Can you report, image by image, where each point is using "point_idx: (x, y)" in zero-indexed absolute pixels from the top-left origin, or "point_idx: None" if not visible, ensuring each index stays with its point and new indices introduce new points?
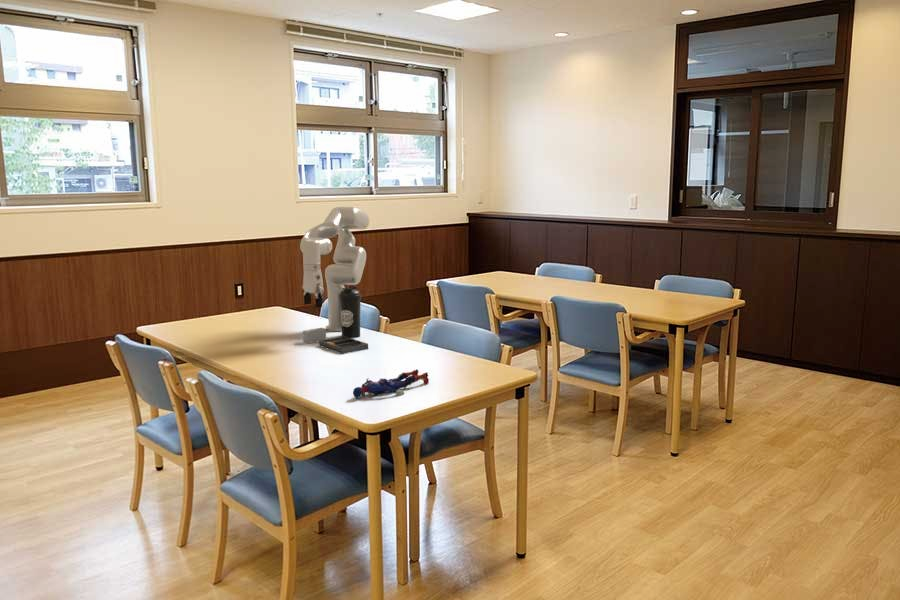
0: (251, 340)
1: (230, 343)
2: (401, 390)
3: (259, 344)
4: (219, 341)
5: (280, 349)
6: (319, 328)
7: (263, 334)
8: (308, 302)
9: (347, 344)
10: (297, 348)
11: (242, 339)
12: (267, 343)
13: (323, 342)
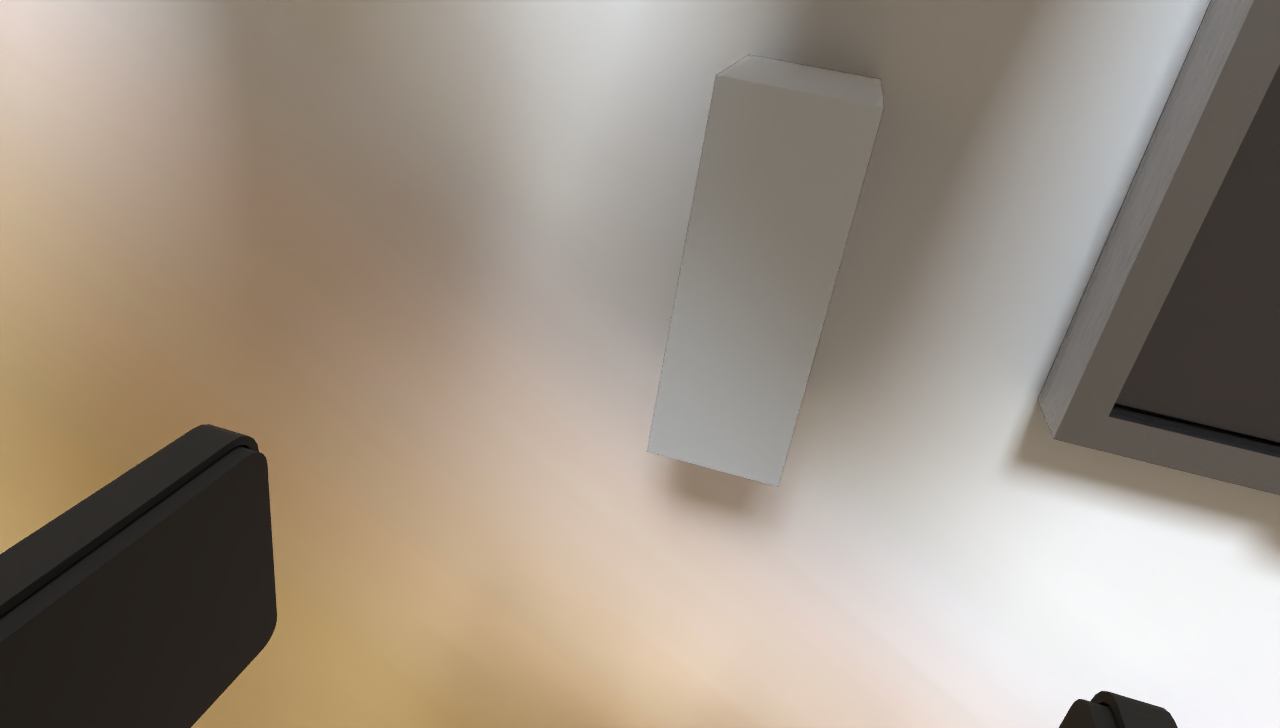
0: None
1: (219, 717)
2: None
3: (410, 652)
4: None
5: (749, 713)
6: (746, 167)
7: (29, 342)
8: (233, 574)
9: None
10: (879, 617)
11: None
12: (426, 595)
13: (1210, 475)
